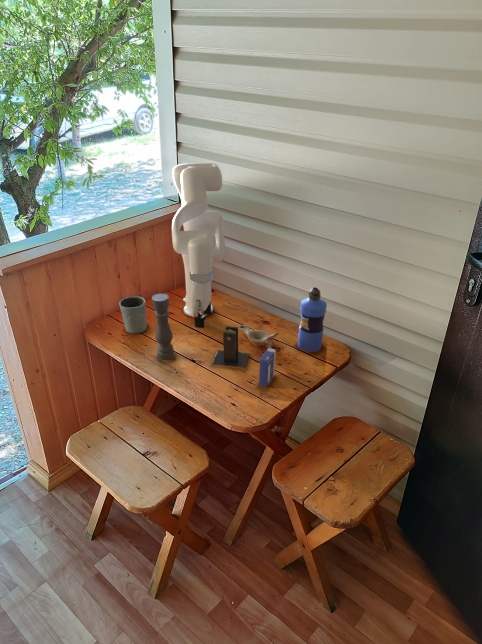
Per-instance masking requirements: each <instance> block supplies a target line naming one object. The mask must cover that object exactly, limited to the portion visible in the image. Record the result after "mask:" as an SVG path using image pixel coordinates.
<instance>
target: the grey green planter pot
mask: <svg viewBox="0 0 482 644" xmlns="http://www.w3.org/2000/svg"><path fill="white" fill-rule="evenodd" d="M118 305H119V308H120V312H121V316H122V320H123V325H124V329H125V331H126V332H127V333H129V334H141V333H144V332H145V331H147V328H148V323H147V305H146V300H145V298H144V297H143V296H137V295H132V296H127V297H124V298H122V299H120V300H119V303H118Z"/></svg>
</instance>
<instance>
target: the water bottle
mask: <svg viewBox="0 0 482 644" xmlns="http://www.w3.org/2000/svg"><path fill="white" fill-rule="evenodd" d="M321 295H322V294H321V290H320V289H319V288H318V287H312V288H310V289H309V293H308V297H307V298H303V299H302V300H301V301H300V308H299V311H300V322H299V326H298V335H297V347H298V349H300V350H301V351H304V352H309V353H310V352H311V353H312V352H318V351H320V350H321V349H322V347H323V345H322V344H323V338H324V337H323V336H324V321H325V316H326V313H327V305H328V303H327V302H326V300H323V299H322V298H321V297H322V296H321Z"/></svg>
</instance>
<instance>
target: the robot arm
mask: <svg viewBox="0 0 482 644" xmlns="http://www.w3.org/2000/svg"><path fill="white" fill-rule="evenodd" d="M172 180H173V183H174V185H175V188H176V190H177V192H178V195H179V197H180V201H181V207H180V208H179V209H178V210H177V212H176V213H175V215H174V217H173V219H172V223H171V238H172V240H171V241H172V248H173V250H174V252H175V253H176V254H179V255H181V257H182V260H183V267H184V278H185V279H184V280H185V294H186V295H185V297H183V299H182V301H183V302H185V306H184V307H183V313H184V314H185V315H186V316H189V317H192V318H194V327H195V328H196V329H204V328H205V324H204V317H203V316H205V317H206V316H211V315H212V313H213V312H214V306H213V305H212V282H213V280H214V277H213V276H214V274H213V272H214V271H213V264H216V263H217V264H218V263H222V262H223V261H224V260H225V258H226V244H225V242H226V241H225V226H224V225H225V224H224V218H223V215H222V213H221V212H220V211H218V210H208V207H209V205H208V196H207V192H220V190H221V189H222V187H223V175H222V171H221V169H220V167H219V166H218V164H216V163H212V162H210V163H207V162H206V163H205V162H204V163H180V164H177V165H175V166H174V167H173V168H172ZM182 226H183V230H181V227H182Z"/></svg>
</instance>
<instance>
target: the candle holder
mask: <svg viewBox="0 0 482 644" xmlns="http://www.w3.org/2000/svg"><path fill="white" fill-rule="evenodd" d="M151 301H152V302H151V303H152V308H153V310H155V311H154V313H153V314H154V317H155V318H156V329H155V341H156V342H157V344H158V345H157V349H156V355H157V361H159V363H161V362H162V361H170V360H172V359H174V357H175V349H174V346H173V344H172V341H173V338H174V337H173V336H174V335H173V332H172V329H171V327H170V323H169V318H168V317H169V316H170V311H169V308H170V297H169V295H168V294H167V293H156V294H154V295H152V296H151Z"/></svg>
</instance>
